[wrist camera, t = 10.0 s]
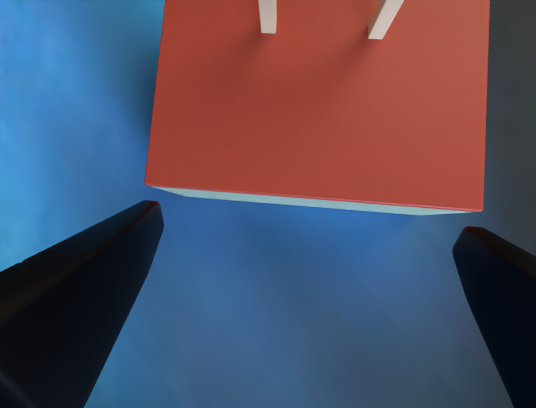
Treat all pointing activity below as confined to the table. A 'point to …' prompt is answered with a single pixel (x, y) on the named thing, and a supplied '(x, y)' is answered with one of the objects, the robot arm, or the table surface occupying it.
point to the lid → (324, 100)
